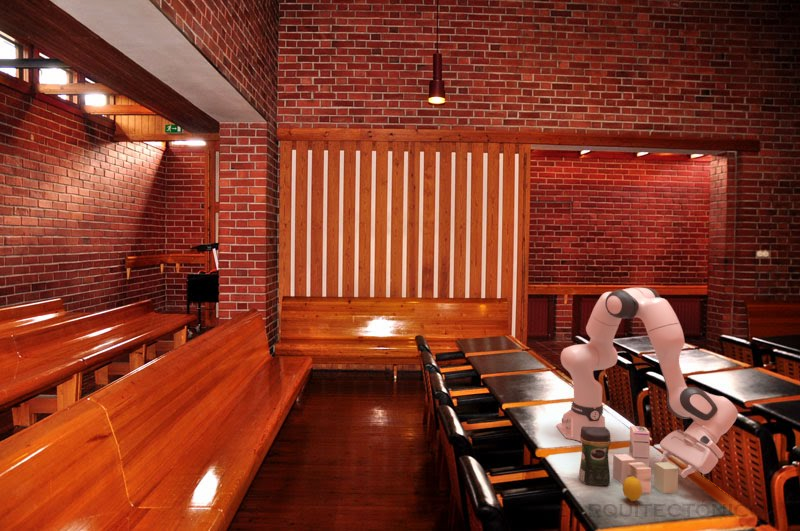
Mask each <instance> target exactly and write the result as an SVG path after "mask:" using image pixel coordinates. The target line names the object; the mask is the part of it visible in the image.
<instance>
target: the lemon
mask: <svg viewBox="0 0 800 531" xmlns="http://www.w3.org/2000/svg"><path fill="white" fill-rule="evenodd" d="M622 493H623V495H624V496H625V498H626V499H628V500H629V501H630V502H632V501H633V502H634V501H638V500H639V499H640V498H641V496H642V495H643V493H642V486H641V483H640V481H639V480H638V479H637V478H635V477H634V476H631V477H628V478H626V479H625V481H624V483H623V484H622Z"/></svg>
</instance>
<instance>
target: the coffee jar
mask: <svg viewBox="0 0 800 531" xmlns="http://www.w3.org/2000/svg"><path fill="white" fill-rule="evenodd" d="M610 433H611V432H610V431H609V429H608V428H607V427H606V426H605V427H585V426H583V427H582V428H581V434H580V440H581V441H580V442H581V457H580V465H579V474H578V475H579V476H578V477H579V479H580V481H581V482H582V483H584V484H586V485H589V486H590V485H591V486H608V485H609V484H611V483H610V482H611V475H610V474H611V473H610V463H609V448H610V445H611V434H610Z"/></svg>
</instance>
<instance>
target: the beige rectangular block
mask: <svg viewBox="0 0 800 531" xmlns="http://www.w3.org/2000/svg"><path fill="white" fill-rule="evenodd" d="M653 468H654V471H653V487H654V488H656V489H657V490H658V491H660V492H661V493H662V494H670V493H671V494H672V492H675V493H678V488H679V487H678V486H679V467H677V466H675V465H674V464H672V463H671V462H669V461H667V462H660V461H659V462H654V467H653Z"/></svg>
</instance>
